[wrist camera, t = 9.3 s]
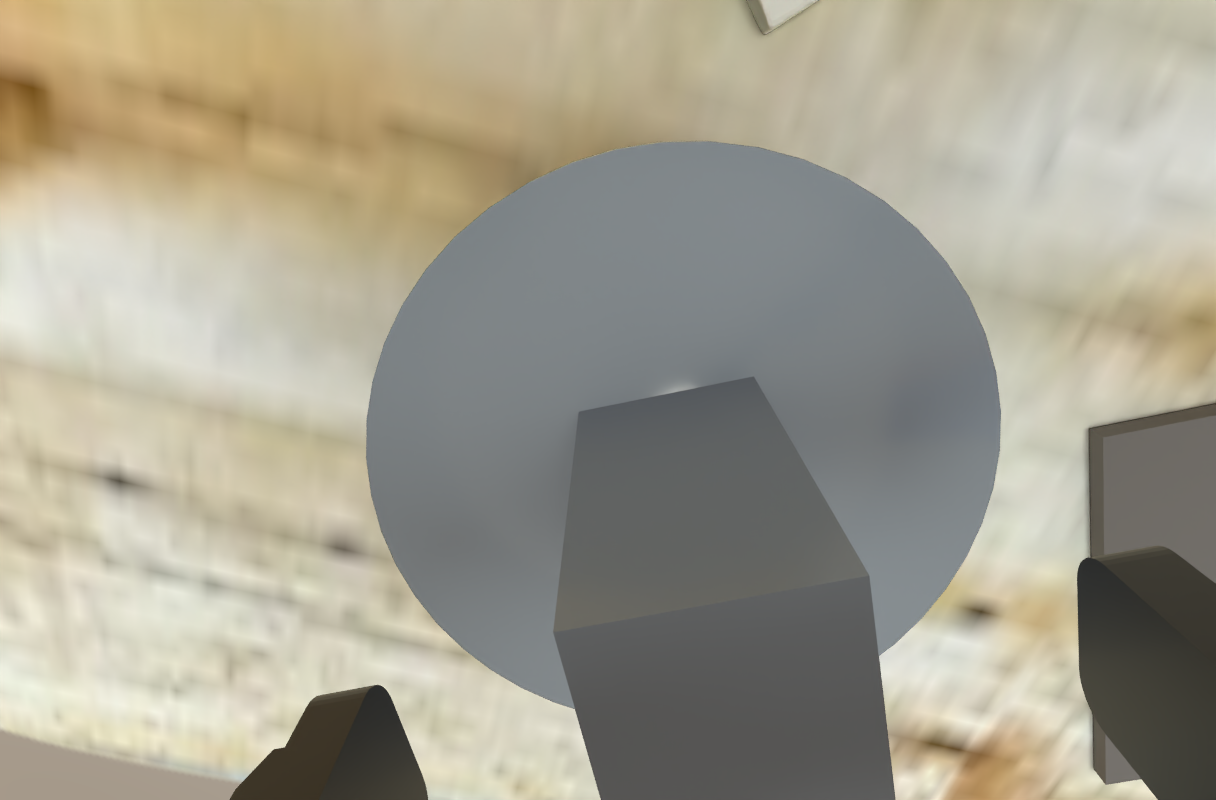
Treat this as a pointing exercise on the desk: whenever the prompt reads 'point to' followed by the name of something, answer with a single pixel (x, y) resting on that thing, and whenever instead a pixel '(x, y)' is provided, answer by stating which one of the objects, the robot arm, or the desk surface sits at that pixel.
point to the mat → (1153, 507)
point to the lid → (689, 460)
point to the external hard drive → (776, 12)
